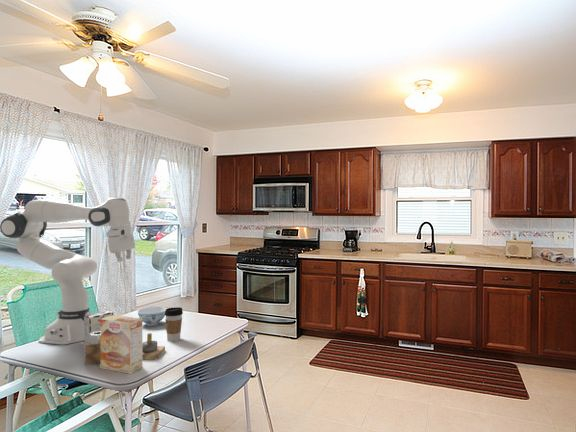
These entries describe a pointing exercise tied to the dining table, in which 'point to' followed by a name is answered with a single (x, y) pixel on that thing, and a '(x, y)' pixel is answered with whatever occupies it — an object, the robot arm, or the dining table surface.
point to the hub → (151, 348)
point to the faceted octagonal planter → (95, 337)
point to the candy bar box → (93, 323)
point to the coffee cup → (173, 323)
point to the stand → (92, 354)
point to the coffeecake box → (121, 343)
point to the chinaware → (152, 315)
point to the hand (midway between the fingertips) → (124, 260)
